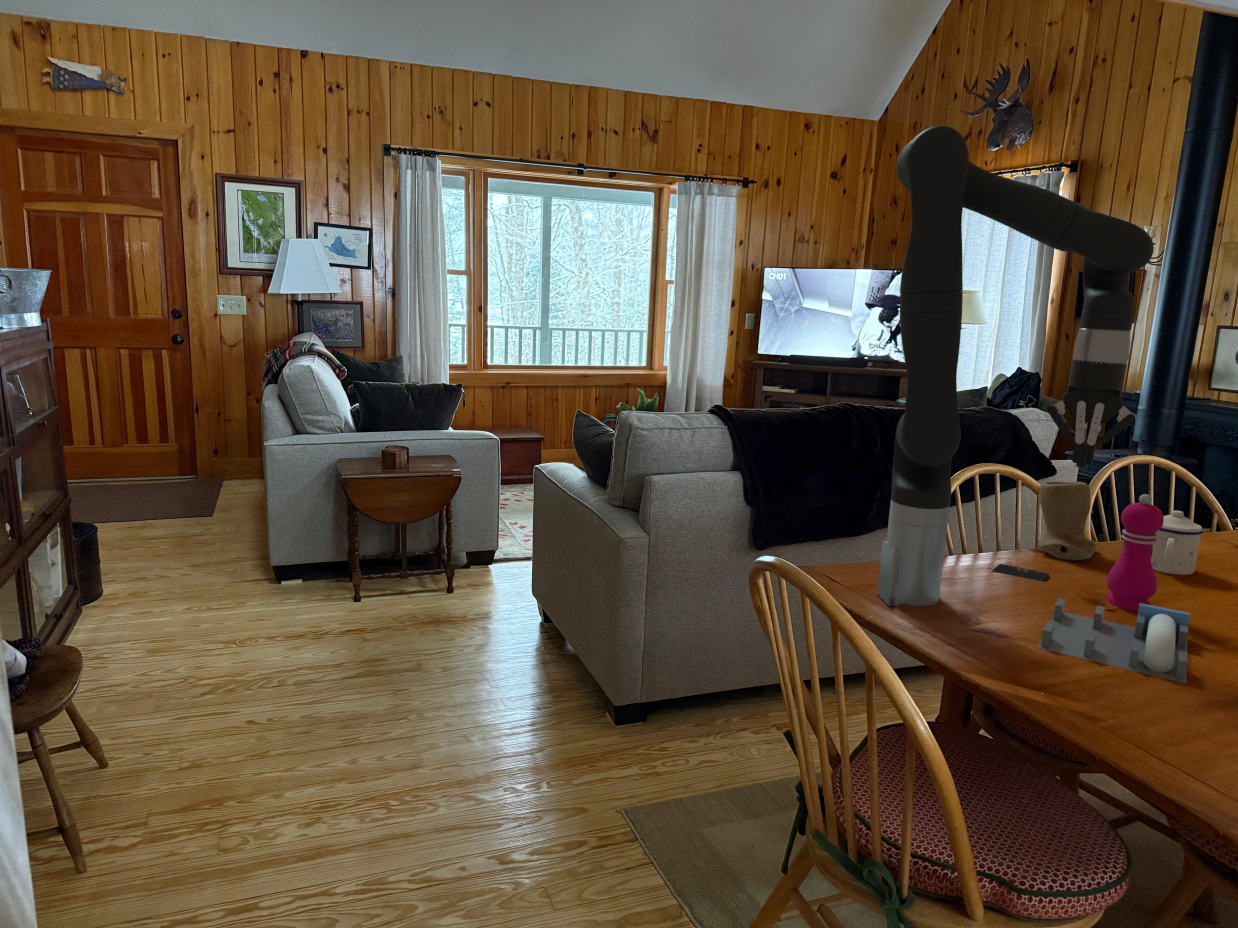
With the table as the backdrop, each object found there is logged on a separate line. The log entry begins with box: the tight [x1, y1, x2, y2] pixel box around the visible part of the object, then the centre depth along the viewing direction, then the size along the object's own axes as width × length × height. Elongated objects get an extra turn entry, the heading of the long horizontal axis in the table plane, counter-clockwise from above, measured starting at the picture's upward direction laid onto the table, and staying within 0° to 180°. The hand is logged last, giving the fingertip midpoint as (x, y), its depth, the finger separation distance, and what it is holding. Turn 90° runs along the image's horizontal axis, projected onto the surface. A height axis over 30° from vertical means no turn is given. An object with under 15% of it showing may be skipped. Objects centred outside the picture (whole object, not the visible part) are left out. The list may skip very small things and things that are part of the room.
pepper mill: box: [1106, 493, 1164, 611], centre depth 139 cm, size 7×7×20 cm
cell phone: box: [991, 563, 1050, 583], centre depth 153 cm, size 9×18×1 cm, turn 142°
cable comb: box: [1037, 597, 1191, 684], centre depth 123 cm, size 19×18×5 cm
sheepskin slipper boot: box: [1039, 480, 1097, 561], centre depth 172 cm, size 15×12×15 cm
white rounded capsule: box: [1144, 614, 1176, 673], centre depth 120 cm, size 16×4×4 cm, turn 146°
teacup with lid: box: [1151, 510, 1204, 576], centre depth 162 cm, size 12×9×12 cm
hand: (1081, 466), depth 134 cm, fingers closed
